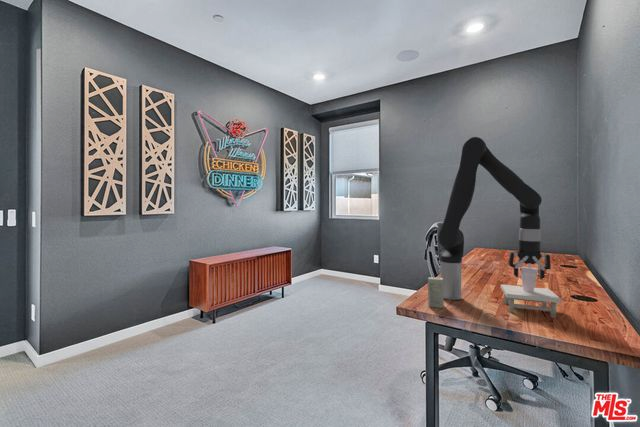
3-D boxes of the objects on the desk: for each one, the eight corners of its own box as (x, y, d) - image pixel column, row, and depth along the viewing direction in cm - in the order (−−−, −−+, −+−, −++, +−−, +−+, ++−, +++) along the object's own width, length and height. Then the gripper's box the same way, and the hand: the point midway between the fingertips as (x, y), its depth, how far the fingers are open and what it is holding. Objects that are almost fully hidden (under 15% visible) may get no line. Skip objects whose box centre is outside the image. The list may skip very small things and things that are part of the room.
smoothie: (521, 292, 125) (521, 258, 125) (517, 288, 131) (518, 256, 131) (539, 294, 123) (540, 259, 123) (535, 290, 129) (536, 257, 128)
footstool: (506, 313, 124) (506, 293, 123) (500, 301, 138) (500, 284, 138) (560, 319, 116) (561, 299, 116) (548, 307, 131) (548, 288, 131)
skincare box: (443, 305, 133) (444, 277, 133) (443, 308, 129) (443, 280, 129) (428, 303, 136) (428, 276, 135) (427, 306, 132) (427, 278, 131)
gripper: (511, 239, 126) (510, 278, 126) (553, 241, 120) (552, 281, 121) (508, 237, 133) (507, 274, 133) (547, 239, 127) (546, 277, 128)
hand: (528, 277), depth 127 cm, fingers open, 8 cm apart
